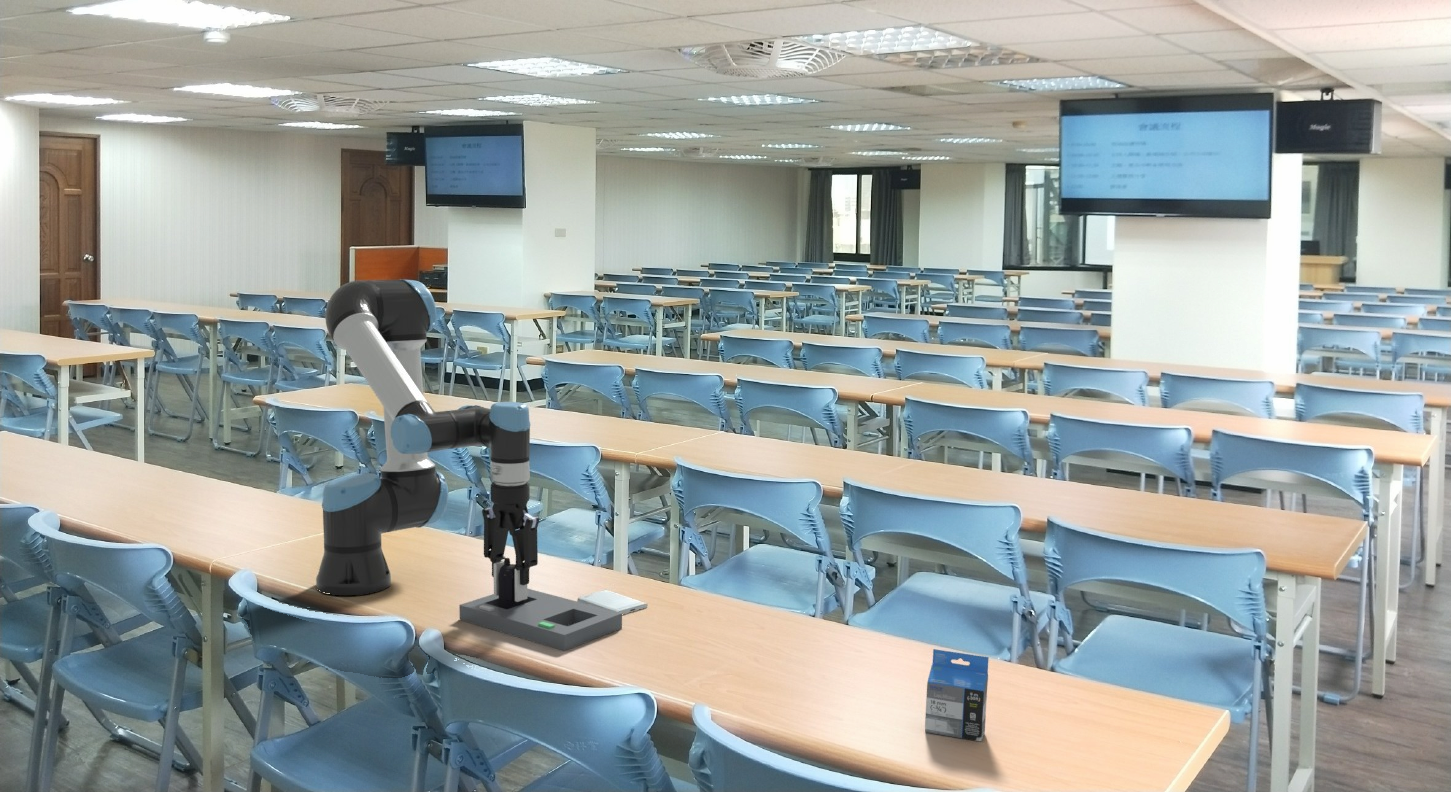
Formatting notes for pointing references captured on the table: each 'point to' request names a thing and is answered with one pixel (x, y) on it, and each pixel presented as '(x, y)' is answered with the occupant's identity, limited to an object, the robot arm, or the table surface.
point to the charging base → (544, 619)
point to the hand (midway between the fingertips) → (510, 596)
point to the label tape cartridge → (957, 696)
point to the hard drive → (612, 602)
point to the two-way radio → (507, 585)
